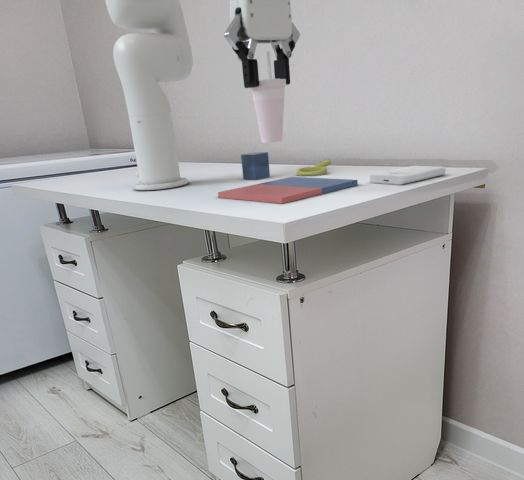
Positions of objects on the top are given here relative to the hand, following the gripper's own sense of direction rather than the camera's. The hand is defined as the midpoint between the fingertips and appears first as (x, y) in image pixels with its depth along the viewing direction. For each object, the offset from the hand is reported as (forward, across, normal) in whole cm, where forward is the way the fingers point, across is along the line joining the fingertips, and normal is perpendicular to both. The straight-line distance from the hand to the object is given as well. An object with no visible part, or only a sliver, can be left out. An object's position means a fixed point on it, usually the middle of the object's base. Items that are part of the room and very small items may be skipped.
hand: (267, 85), depth 92 cm
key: (+19, -28, -16) cm, 37 cm away
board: (+19, -5, -2) cm, 19 cm away
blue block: (+19, -17, -25) cm, 35 cm away
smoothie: (+9, 0, 0) cm, 9 cm away
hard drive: (+19, -24, +12) cm, 33 cm away
